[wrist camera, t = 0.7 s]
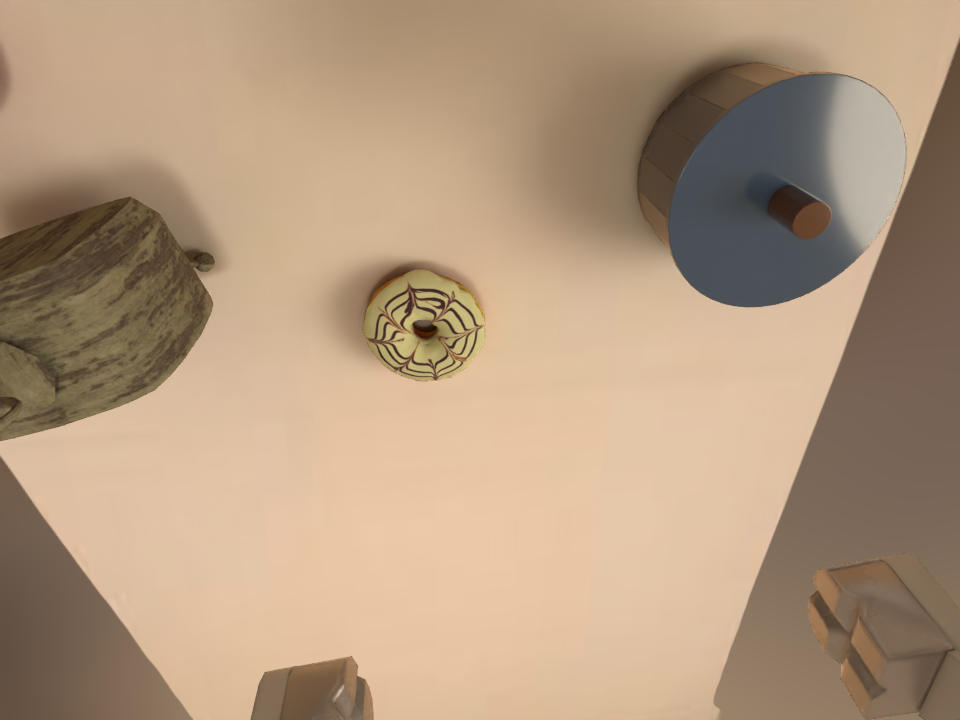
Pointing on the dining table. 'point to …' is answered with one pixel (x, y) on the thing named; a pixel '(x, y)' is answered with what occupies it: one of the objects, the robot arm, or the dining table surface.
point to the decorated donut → (418, 350)
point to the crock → (692, 131)
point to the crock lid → (786, 189)
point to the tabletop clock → (93, 314)
